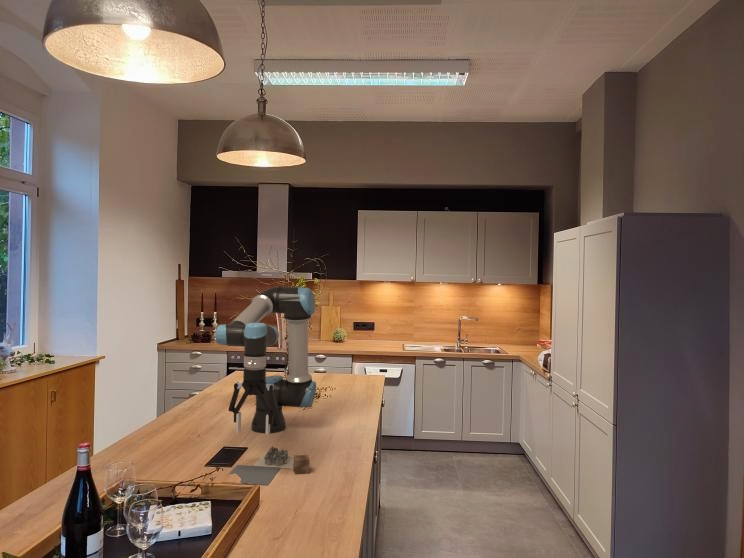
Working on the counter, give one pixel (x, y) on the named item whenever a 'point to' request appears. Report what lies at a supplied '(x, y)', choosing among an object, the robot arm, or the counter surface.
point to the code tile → (287, 464)
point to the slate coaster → (255, 474)
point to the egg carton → (276, 456)
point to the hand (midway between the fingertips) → (253, 432)
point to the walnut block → (301, 464)
